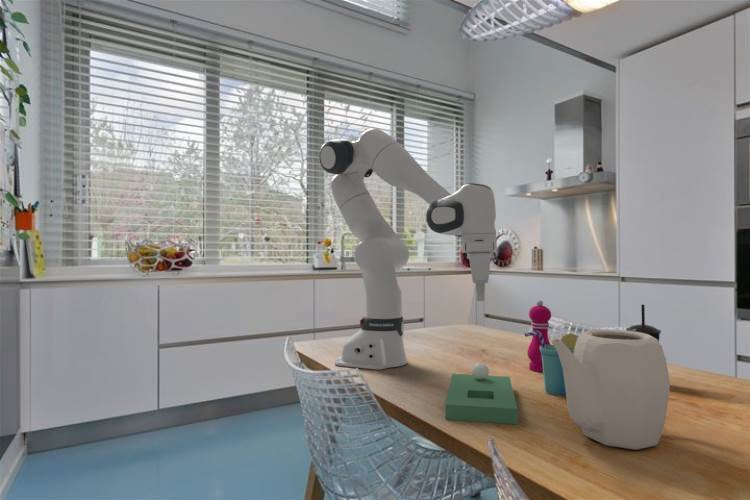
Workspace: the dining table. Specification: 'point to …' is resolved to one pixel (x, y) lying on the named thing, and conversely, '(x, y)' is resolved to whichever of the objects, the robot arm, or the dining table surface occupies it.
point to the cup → (554, 363)
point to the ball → (480, 371)
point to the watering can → (616, 386)
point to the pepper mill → (539, 323)
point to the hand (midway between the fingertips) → (480, 299)
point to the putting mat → (481, 399)
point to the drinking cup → (645, 327)
